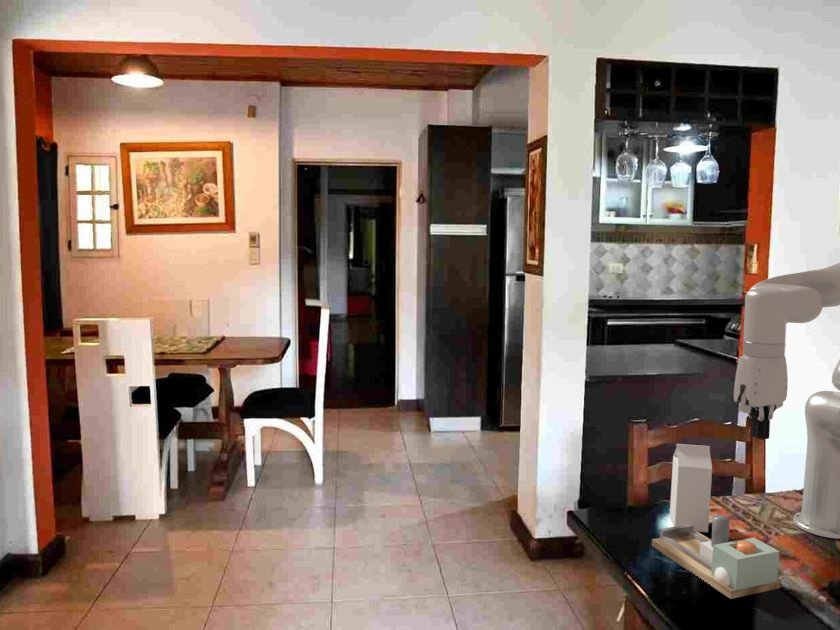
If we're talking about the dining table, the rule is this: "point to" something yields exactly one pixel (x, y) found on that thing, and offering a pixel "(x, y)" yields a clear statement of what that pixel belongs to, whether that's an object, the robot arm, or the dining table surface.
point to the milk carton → (691, 486)
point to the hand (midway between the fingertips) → (759, 437)
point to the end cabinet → (745, 565)
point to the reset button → (746, 547)
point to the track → (696, 557)
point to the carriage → (715, 536)
